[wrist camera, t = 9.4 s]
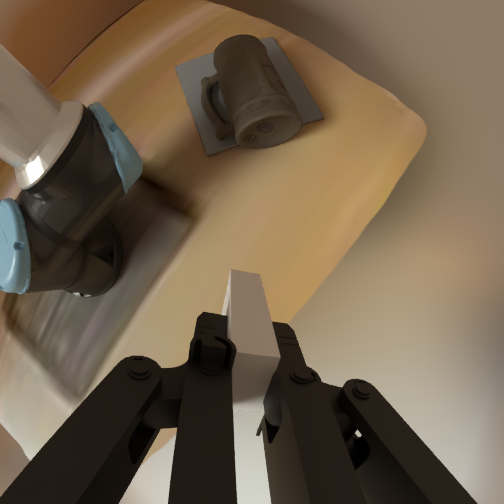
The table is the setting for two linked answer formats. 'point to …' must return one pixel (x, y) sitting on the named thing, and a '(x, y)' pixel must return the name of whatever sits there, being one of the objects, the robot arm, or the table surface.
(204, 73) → the mat
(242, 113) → the beer stein
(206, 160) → the table surface
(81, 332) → the table surface
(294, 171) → the table surface
